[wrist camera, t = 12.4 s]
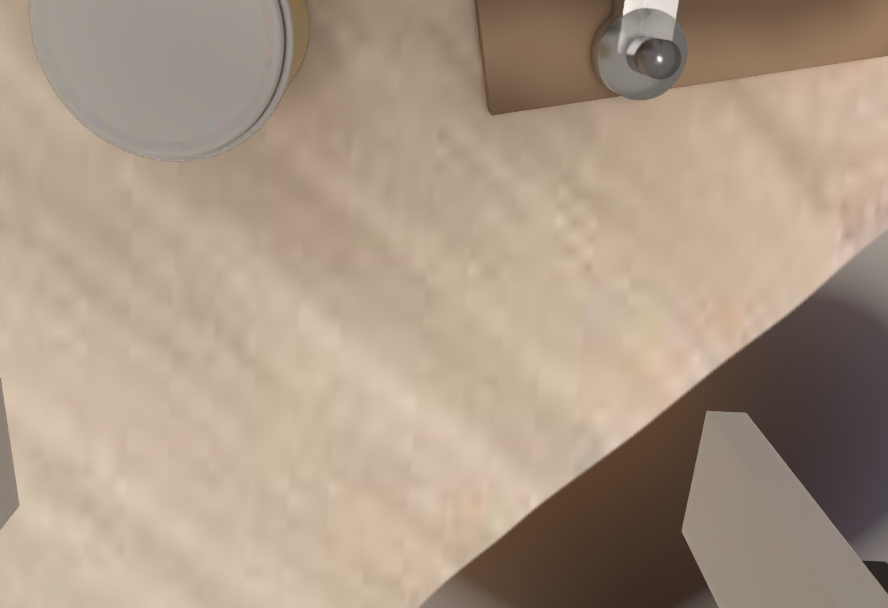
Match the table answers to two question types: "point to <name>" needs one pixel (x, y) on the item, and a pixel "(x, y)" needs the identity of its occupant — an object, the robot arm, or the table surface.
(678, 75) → the lever
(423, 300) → the table surface
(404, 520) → the table surface
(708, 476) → the robot arm
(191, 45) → the coffee cup
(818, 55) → the nutcracker board
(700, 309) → the table surface
